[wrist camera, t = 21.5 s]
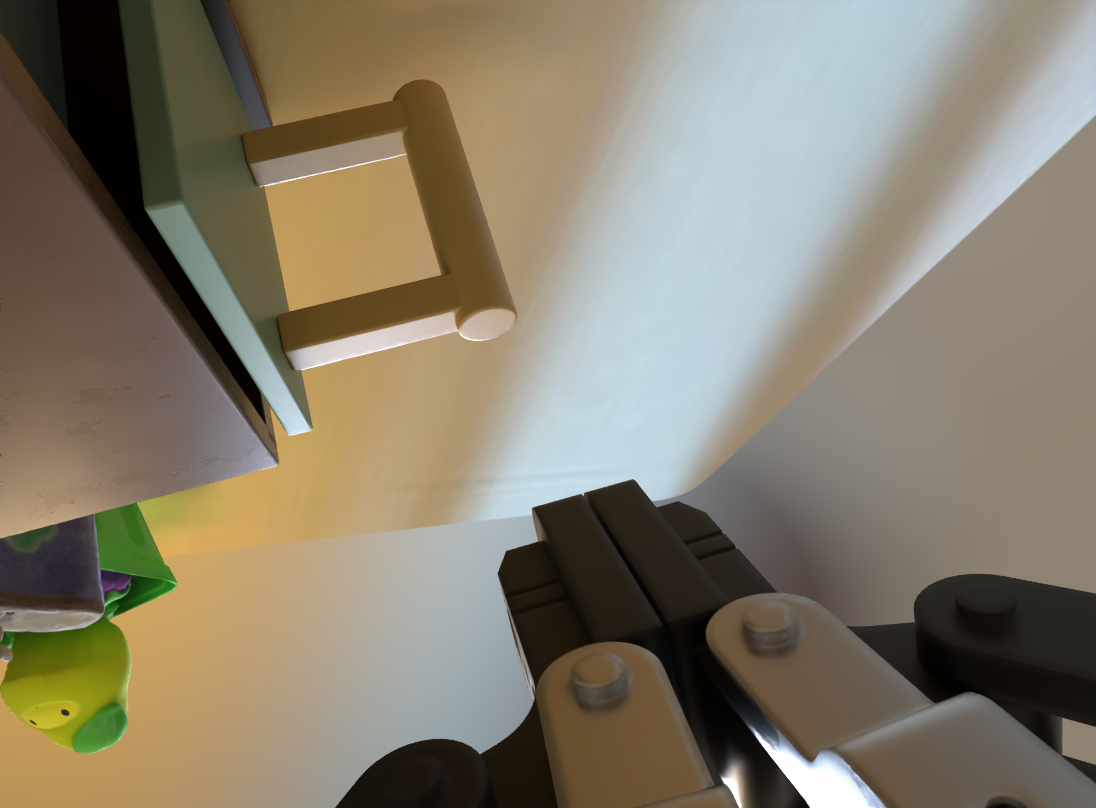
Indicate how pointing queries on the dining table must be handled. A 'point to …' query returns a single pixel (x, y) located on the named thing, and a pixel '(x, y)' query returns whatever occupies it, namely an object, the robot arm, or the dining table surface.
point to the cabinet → (103, 287)
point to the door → (244, 220)
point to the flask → (50, 579)
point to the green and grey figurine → (88, 646)
